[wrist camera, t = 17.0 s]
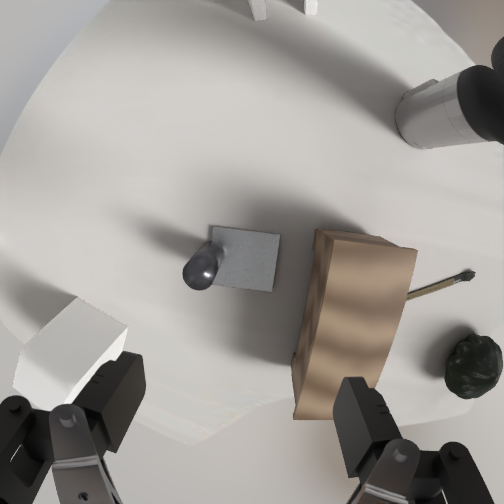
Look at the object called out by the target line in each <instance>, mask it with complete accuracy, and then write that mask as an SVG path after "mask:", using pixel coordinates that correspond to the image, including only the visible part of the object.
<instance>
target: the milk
mask: <svg viewBox="0 0 504 504" xmlns="http://www.w3.org/2000/svg"><path fill="white" fill-rule="evenodd" d="M127 330H128V325H126V324H124V323H122V322H121V321H119V320H117V319H115V318H113V317H112V316H110V315H108V314H106V313H104V312H103V311H101V310H99V309H98V308H96V307H94V306H92V305H91V304H89V303H87V302H86V301H84V300H83V299H81V298H79V297H77V298H76V299H75V300H73V301H72V302H71V303H70V304H69V305H68V306H67V307H65V308H64V309H63V310H62V311H61V312H60V313H59V314H58V315H56V316H55V317H54V318H53V319H52V320H51V321H50V322H49V323H48V324H47V325H46V326H44V327H43V328H42V329H41V330H40V331H39V332H38V333H37V334H36V335H35V336H34V337H33V338H32V339H31V340H30V341H29V342H28V343H26V345H25V346H24V347H23V349H22V351H21V354H20V357H19V361H18V364H17V369H16V373H15V378H14V382H13V388H12V390H11V393H10V396H13V395H20V396H23V397H25V398H26V399H28V401H29V402H30V404H31V406H32V408H34V409H40V410H46V411H52V410H53V409H54V408H55V407H56V406H58V405H61V404H71V403H72V402H73V401H74V399H75V398H76V397H77V395H78V394H79V393H80V391H81V390H82V389H83V387H84V386H85V385H86V384H87V382H88V381H90V378H91V377H92V376H93V375H94V374H95V372H96V371H97V369H98V368H99V367H100V366H101V365H102V364H104V363H106V362H107V361H109V360H113V361H116V359H117V358H118V357H119V355H120V354H121V353H122V349H123V345H124V341H125V337H126V334H127Z"/></svg>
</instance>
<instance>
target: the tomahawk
mask: <svg viewBox="0 0 504 504" xmlns="http://www.w3.org/2000/svg"><path fill="white" fill-rule="evenodd" d="M475 273H476V272H474V271H471V272H469V273H462V274H459V275H456V276H454V277H451V278H449V279H446V280H443V281H441V282H438V283H436V284H433V285H430V286H427V287H425V288H422V289H419V290H416V291H413V292H410V293H408V294H407V298H406V300H411V299H413V298H415V297H419V296H422V295H425V294H428V293H431V292H434V291H437V290H440V289H442V288H445V287H448V286H451V285H453V284H455V283H458V282H461V281H470V280H471V279H472V278H474V276H475V275H473V274H475Z"/></svg>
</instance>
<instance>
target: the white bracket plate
mask: <svg viewBox="0 0 504 504" xmlns="http://www.w3.org/2000/svg"><path fill="white" fill-rule="evenodd" d="M248 3H249V6H250V8H251V11H252V14H253V17H254V20H255V21H260V20H266V19H267V15H266V6H265V0H248ZM317 3H318V0H304V12H305V15H312V14H317Z"/></svg>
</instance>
